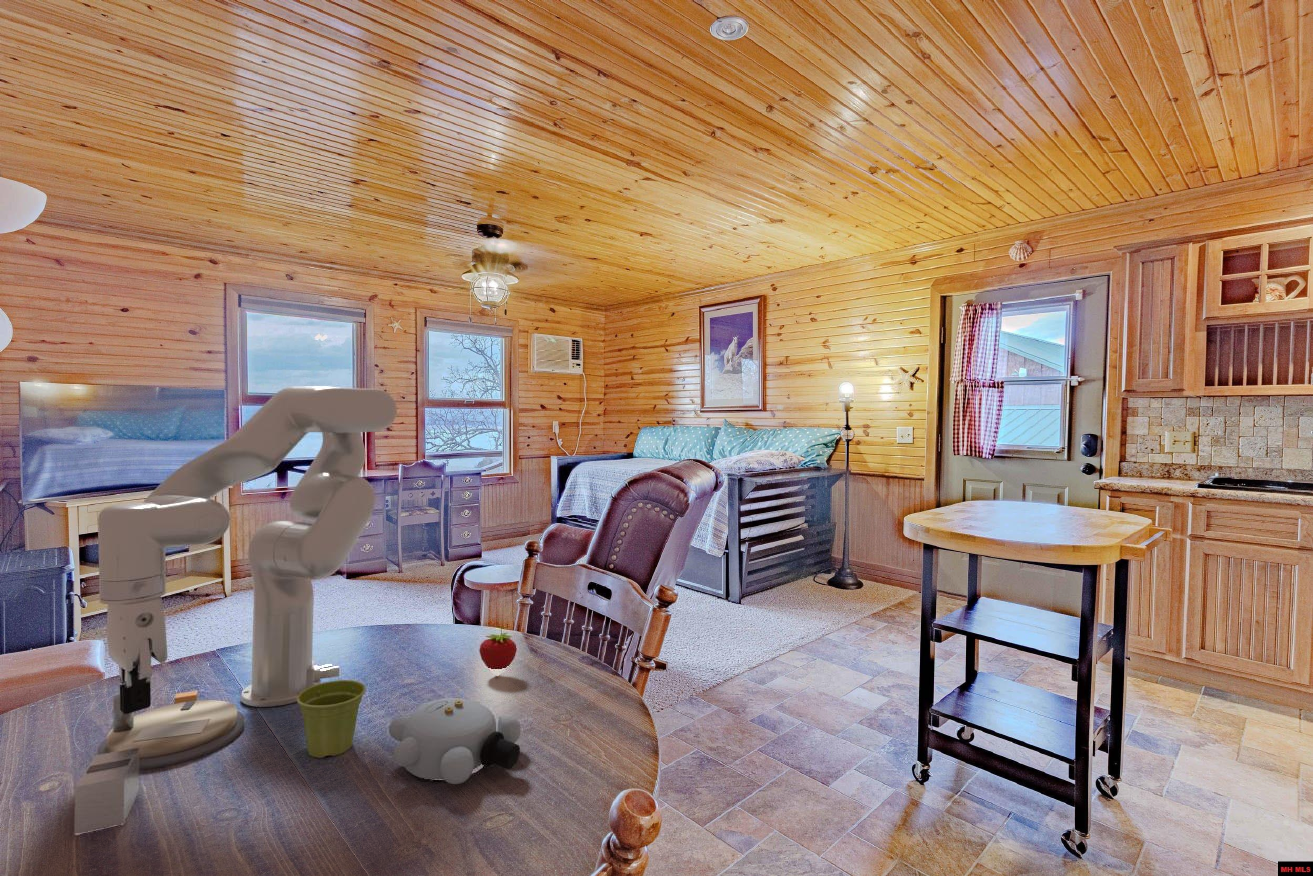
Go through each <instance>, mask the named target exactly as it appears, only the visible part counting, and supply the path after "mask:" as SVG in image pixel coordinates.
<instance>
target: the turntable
mask: <svg viewBox="0 0 1313 876" xmlns="http://www.w3.org/2000/svg"><path fill="white" fill-rule="evenodd" d="M112 705H113V707H112V729H111V730H110V731H109V732H108V733H107V735H106V738H107V751H108V752H109V753H111V752H117V751H123V750H128V749H134V748H139V747H140V749H139V758H146V757H155V756H162V755H167V754H172V753H176V752H180V751H184V750H188V749H191V748H194V747H197V746H200V745H202V744H205V743H207V742H210V741H212V740H214V739H216V738H218V737H220V736H222V735H223V734H225V733H226V732H228V731H229V730H230V729H231V728H232V727H233V726H234V725H235V724H236V722H237V711H238V708H237V706H235V705H234V703H232V702H229V701H223V700H215V699H206V700H205V699H203V700H198V701H189V702H183V703H177V704H174V703H173V704H169V705H164V706H159V707H156V708H153V709H150V710H147V711H144V712H141V713H139V714H136V715H135V712H132V713H129V714H124V713H123V712H122V711H121V710H120V693H119V694H117V695H115V696H114V697H113V704H112Z"/></svg>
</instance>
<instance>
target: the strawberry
mask: <svg viewBox="0 0 1313 876" xmlns="http://www.w3.org/2000/svg"><path fill="white" fill-rule="evenodd" d="M502 627H503V626H502V625H500V635H499V634H490V635H485V638H487V639H485V640H483V641H482V643H480V646H479V649H478V650H479V651H478V652H479V655H480V658H481V660H482V661H483V663H484V665H485V666H486V667H488V668H491V669H502V668H506V667H507V666H509V667H510V665H511V663H512V662H513V661H514V659H515V657H516V655H517V644H516V642H515V641H513V639H511V638H512V636H511V635H507V634H508V632H504V633H503V632H502V629H503V628H502ZM488 668H487V669H488Z"/></svg>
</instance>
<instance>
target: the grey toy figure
mask: <svg viewBox="0 0 1313 876" xmlns="http://www.w3.org/2000/svg"><path fill="white" fill-rule="evenodd" d="M388 727H389V728H388V732H389V735H390V736H391V737H392V739H394V740H395V741H398V742H399V743H397V745H396V746H395V748H394V750H393V760H394V762H395V764H397V766H399V767H402V768H405V770H407V772H409V773H410V774H412V775H413V776H416V777H418V778H419V779H423V778H424V780H427V779H444V780H445V781H444V782H446V783H448V784H450V785H451V784H452V785H459V784H462V783H464V782H466V781H467V780H468V779H469V778H470V777H471V776H472V775H471V774H472V771H473V769H475V768H477V767H478V766H480V765H481V764H482V765H484V766H485V767H487V768H488V767H489V768H490V767H491V765H492V766H493V765H496V766H498V767H501V768H504V769H506V770H511V769H513V768H514V767H515V766H516V764H517V762H518V760H519V757H520V755H521V754H520V753H521V747H520V745H519V744H517V743H516V742H517V741H518V740H519V738H520V734H521V724H520V721H519V720H518V718H516V717H514V716H513V715H510V714H505V715H499V717H498V722H496V719H495V715H494V713H493V712H492V710H490V708H488V707H487V706H486V705H483V704H482V703H480V702H479V701H476V700H471V699H467V698H459V697H447V698H441V699H436V700H433V701H430V702H429V701H427V702H422V703H421V704H420V705H419V706H418V707H417V709H416V710H415V711H413V712H412V713H411V714H410V715H409V716H405V715H401V716H397V717H395V718H393V719H392V721H391V722H390V725H389V726H388ZM470 775H471V776H470Z"/></svg>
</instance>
